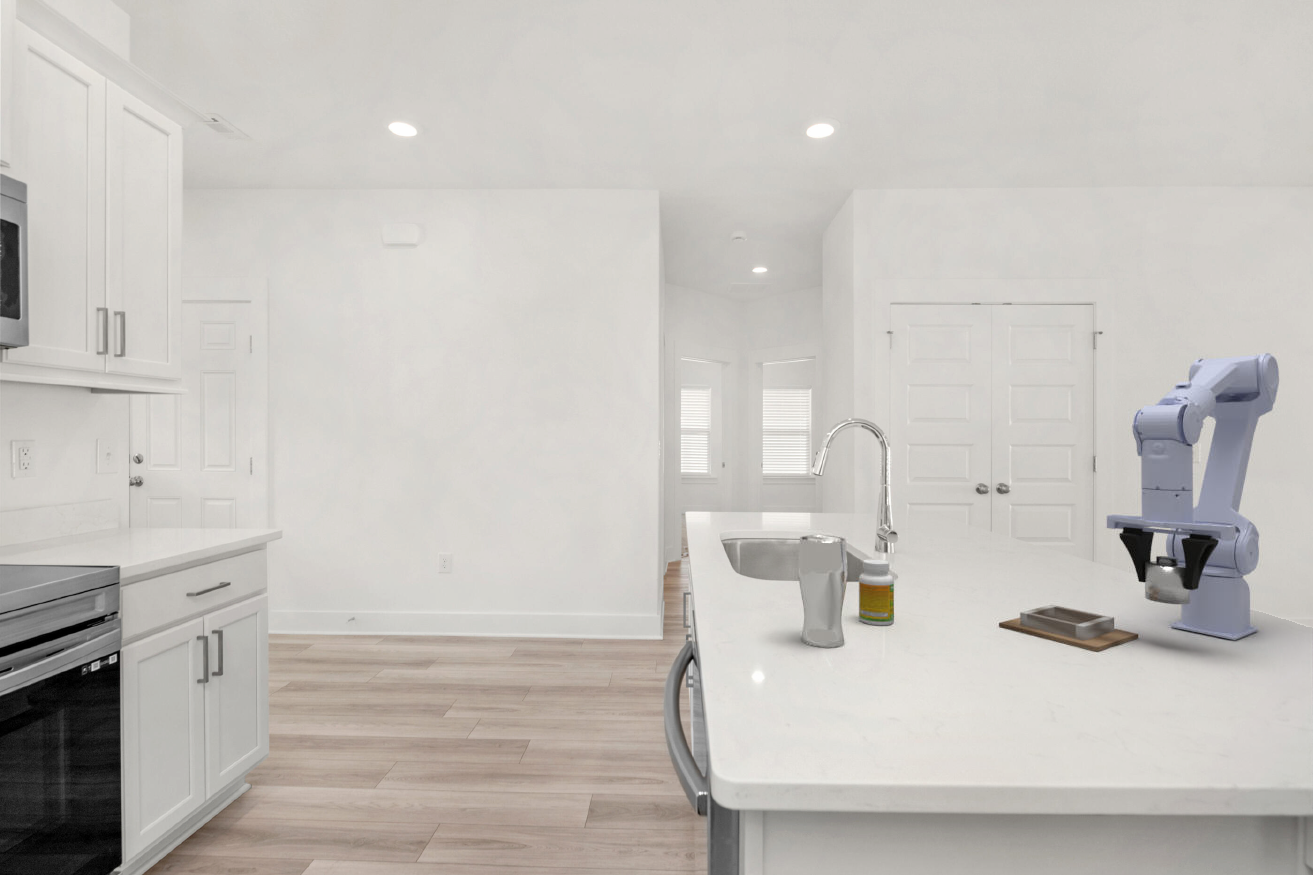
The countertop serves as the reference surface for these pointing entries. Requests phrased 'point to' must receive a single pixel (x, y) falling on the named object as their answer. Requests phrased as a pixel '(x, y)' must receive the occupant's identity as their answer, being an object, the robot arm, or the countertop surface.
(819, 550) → the beer glass
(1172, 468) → the robot arm
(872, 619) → the supplement bottle
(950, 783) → the countertop surface
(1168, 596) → the chrome knobbed weight
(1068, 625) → the carrier board
